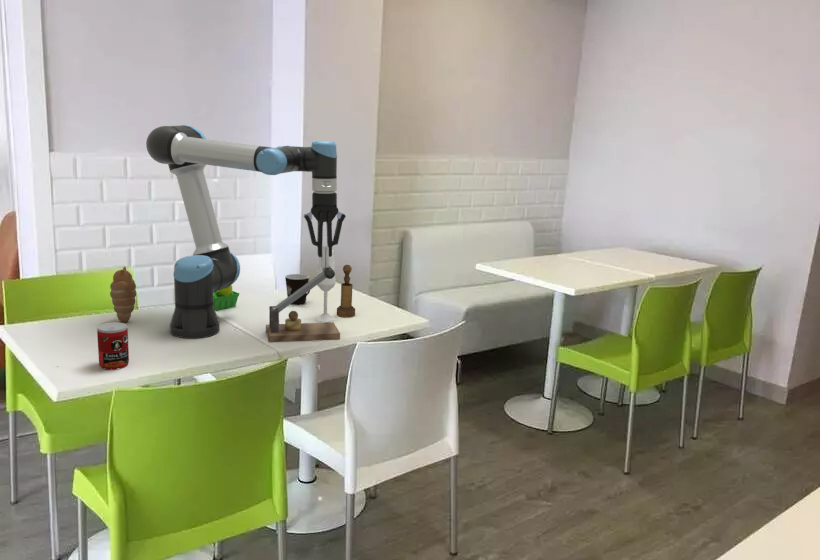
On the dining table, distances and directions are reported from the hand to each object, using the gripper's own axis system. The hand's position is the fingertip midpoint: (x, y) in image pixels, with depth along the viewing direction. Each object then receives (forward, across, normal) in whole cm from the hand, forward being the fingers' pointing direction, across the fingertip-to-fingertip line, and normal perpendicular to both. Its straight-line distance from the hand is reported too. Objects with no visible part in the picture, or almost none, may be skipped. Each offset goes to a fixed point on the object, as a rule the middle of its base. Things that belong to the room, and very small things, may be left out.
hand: (324, 266), depth 229 cm
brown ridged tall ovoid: (+21, -62, +21) cm, 69 cm away
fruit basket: (+22, -31, +35) cm, 52 cm away
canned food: (+21, -61, -20) cm, 68 cm away
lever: (+9, -7, 0) cm, 11 cm away
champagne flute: (+22, +3, +17) cm, 28 cm away
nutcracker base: (+22, -7, 0) cm, 23 cm away
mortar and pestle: (+23, +11, +21) cm, 33 cm away
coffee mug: (+22, -4, +37) cm, 43 cm away
